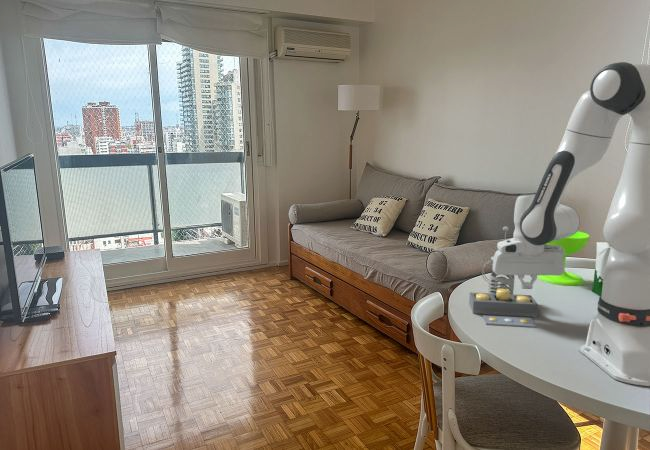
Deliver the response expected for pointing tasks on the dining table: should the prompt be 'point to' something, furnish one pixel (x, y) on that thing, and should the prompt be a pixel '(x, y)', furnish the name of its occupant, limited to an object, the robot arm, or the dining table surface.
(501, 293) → the middle button
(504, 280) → the french press
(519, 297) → the right button
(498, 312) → the button board
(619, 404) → the dining table surface
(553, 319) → the dining table surface
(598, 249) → the milk carton
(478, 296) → the left button
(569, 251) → the wineglass
